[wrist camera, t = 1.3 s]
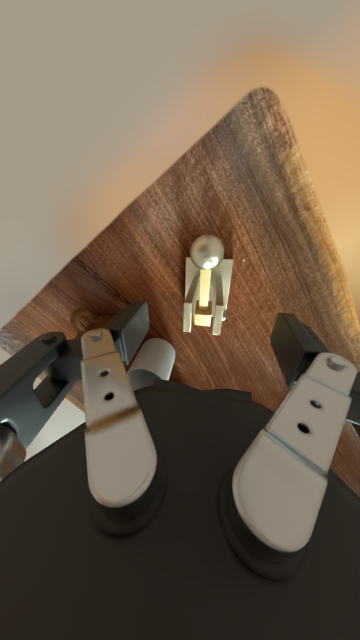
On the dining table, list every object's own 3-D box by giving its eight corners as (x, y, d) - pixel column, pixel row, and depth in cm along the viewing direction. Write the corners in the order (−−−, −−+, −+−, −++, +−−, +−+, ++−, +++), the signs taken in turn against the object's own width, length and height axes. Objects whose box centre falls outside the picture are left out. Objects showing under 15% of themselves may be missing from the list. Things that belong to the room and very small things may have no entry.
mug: (82, 298, 42) (49, 318, 34) (112, 293, 40) (85, 313, 32) (103, 342, 47) (79, 368, 39) (130, 340, 45) (111, 367, 37)
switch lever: (191, 226, 18) (187, 248, 16) (226, 227, 17) (226, 250, 15) (193, 309, 28) (190, 327, 27) (214, 310, 28) (213, 329, 26)
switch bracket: (186, 255, 33) (172, 276, 22) (233, 258, 32) (241, 280, 21) (185, 311, 39) (172, 349, 28) (224, 314, 38) (227, 355, 27)
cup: (181, 361, 46) (172, 395, 37) (152, 368, 49) (139, 401, 40) (164, 333, 43) (151, 363, 34) (135, 343, 45) (116, 373, 37)
